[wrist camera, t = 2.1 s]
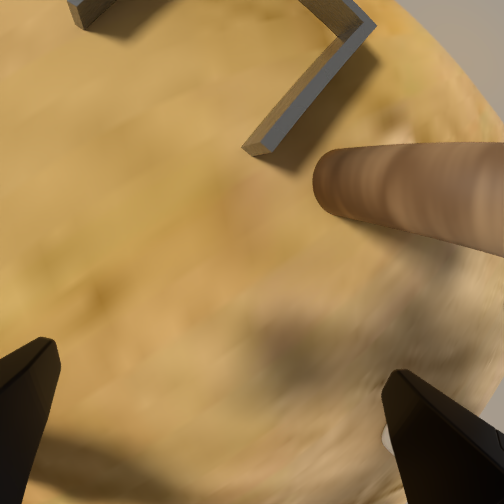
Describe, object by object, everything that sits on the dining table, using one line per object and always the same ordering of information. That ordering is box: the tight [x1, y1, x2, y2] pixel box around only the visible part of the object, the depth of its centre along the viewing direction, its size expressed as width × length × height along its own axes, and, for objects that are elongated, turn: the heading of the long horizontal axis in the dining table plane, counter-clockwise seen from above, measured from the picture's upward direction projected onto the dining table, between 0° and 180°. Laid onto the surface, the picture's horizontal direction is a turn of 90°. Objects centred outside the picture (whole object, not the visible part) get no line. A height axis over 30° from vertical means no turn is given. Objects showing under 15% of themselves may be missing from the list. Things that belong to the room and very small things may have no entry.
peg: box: [313, 142, 504, 258], centre depth 14 cm, size 4×4×14 cm
